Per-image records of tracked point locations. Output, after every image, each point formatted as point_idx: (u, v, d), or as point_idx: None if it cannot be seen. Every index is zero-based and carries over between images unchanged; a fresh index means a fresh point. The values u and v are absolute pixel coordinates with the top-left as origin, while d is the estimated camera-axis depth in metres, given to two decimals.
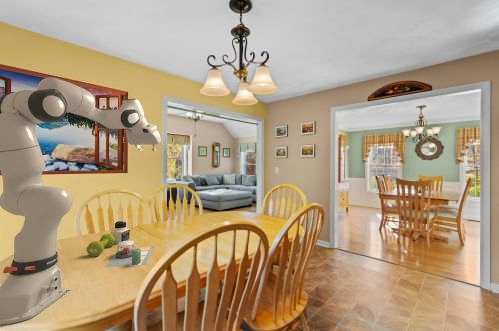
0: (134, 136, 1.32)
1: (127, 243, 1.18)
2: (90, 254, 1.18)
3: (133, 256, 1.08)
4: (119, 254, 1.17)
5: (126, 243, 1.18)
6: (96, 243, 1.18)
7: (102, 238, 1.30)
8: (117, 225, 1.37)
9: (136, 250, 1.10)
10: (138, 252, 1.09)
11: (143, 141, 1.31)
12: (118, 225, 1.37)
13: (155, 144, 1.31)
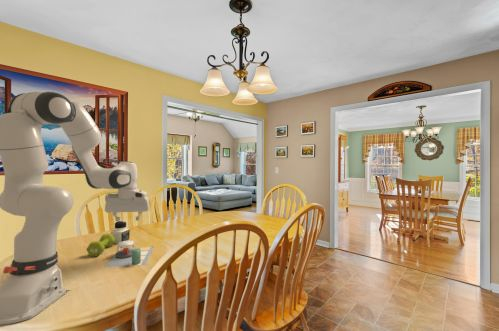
0: (117, 202, 1.17)
1: (127, 243, 1.18)
2: (91, 254, 1.18)
3: (133, 256, 1.08)
4: (119, 254, 1.17)
5: (126, 243, 1.18)
6: (97, 243, 1.18)
7: (102, 238, 1.30)
8: (117, 225, 1.37)
9: (136, 250, 1.10)
10: (138, 252, 1.09)
11: (129, 207, 1.18)
12: (118, 225, 1.37)
13: (143, 211, 1.20)
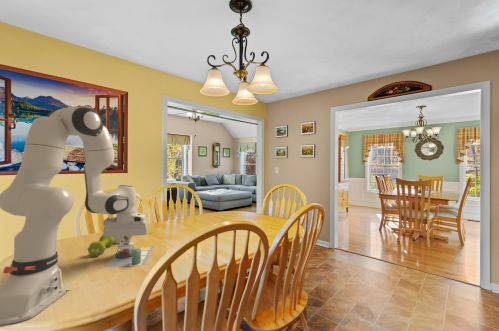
0: (116, 226, 1.17)
1: (127, 245, 1.18)
2: (92, 254, 1.18)
3: (133, 256, 1.08)
4: (119, 254, 1.17)
5: (126, 245, 1.18)
6: (98, 243, 1.19)
7: (101, 238, 1.30)
8: None
9: (136, 250, 1.10)
10: (138, 252, 1.09)
11: (128, 231, 1.18)
12: None
13: None
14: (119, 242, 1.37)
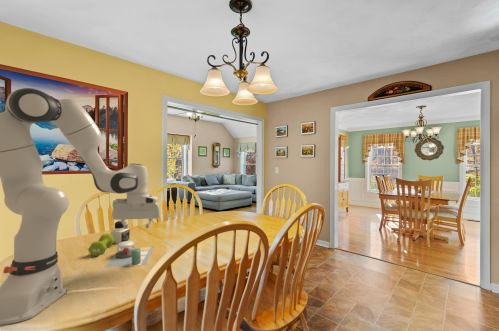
0: (126, 208, 1.07)
1: (127, 244, 1.18)
2: (93, 254, 1.18)
3: (133, 256, 1.08)
4: (119, 254, 1.17)
5: (126, 244, 1.18)
6: (99, 243, 1.19)
7: (101, 238, 1.30)
8: (117, 225, 1.37)
9: (136, 250, 1.09)
10: (137, 252, 1.09)
11: (139, 214, 1.08)
12: (118, 225, 1.37)
13: (154, 218, 1.10)
14: (119, 242, 1.37)
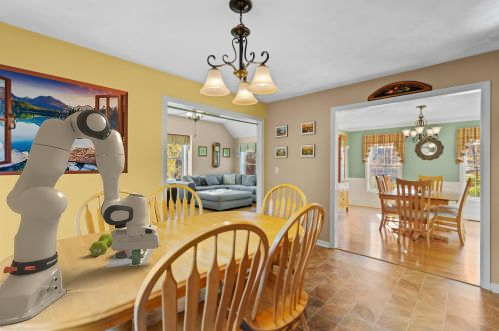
0: (125, 239, 1.07)
1: None
2: (94, 254, 1.18)
3: (133, 256, 1.08)
4: (119, 254, 1.17)
5: None
6: (100, 243, 1.19)
7: (101, 238, 1.30)
8: (117, 225, 1.37)
9: (136, 250, 1.10)
10: (137, 252, 1.09)
11: (138, 244, 1.08)
12: (118, 225, 1.37)
13: (153, 248, 1.10)
14: None
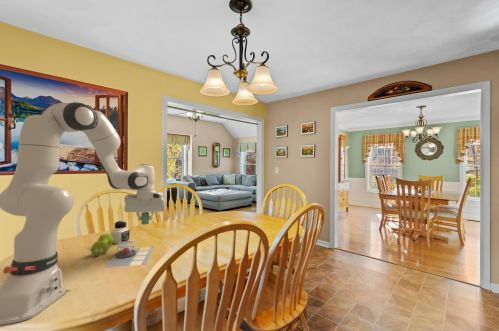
0: (136, 202, 1.25)
1: (127, 244, 1.18)
2: (95, 254, 1.18)
3: (142, 217, 1.26)
4: (119, 254, 1.17)
5: (126, 244, 1.18)
6: (101, 243, 1.19)
7: (101, 238, 1.29)
8: (117, 225, 1.37)
9: (145, 212, 1.27)
10: (146, 214, 1.26)
11: (147, 207, 1.26)
12: (118, 225, 1.37)
13: (160, 211, 1.27)
14: (119, 242, 1.37)
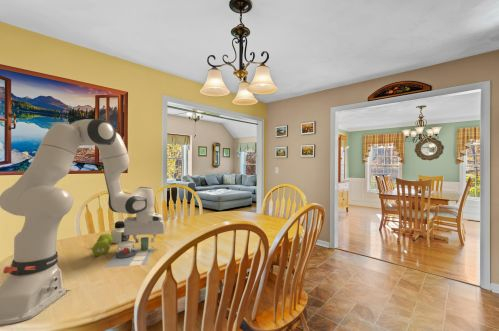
0: (136, 225, 1.25)
1: (127, 244, 1.18)
2: (97, 254, 1.18)
3: (142, 243, 1.26)
4: (119, 254, 1.17)
5: (126, 244, 1.18)
6: (103, 242, 1.19)
7: (100, 238, 1.29)
8: (117, 225, 1.37)
9: (144, 238, 1.27)
10: (146, 239, 1.26)
11: (146, 230, 1.26)
12: (118, 225, 1.37)
13: (160, 233, 1.28)
14: (119, 242, 1.37)
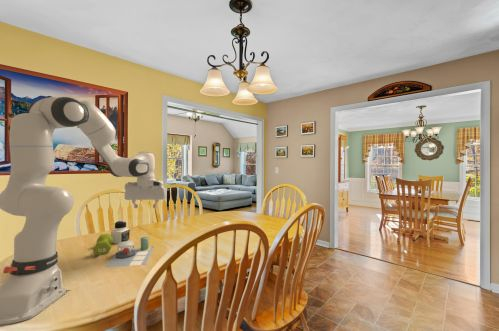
0: (136, 190, 1.25)
1: (127, 244, 1.18)
2: (98, 254, 1.18)
3: (142, 243, 1.26)
4: (119, 254, 1.17)
5: (126, 244, 1.18)
6: (104, 242, 1.20)
7: (100, 238, 1.29)
8: (117, 225, 1.37)
9: (144, 238, 1.27)
10: (146, 239, 1.26)
11: (147, 195, 1.26)
12: (118, 225, 1.37)
13: (160, 199, 1.27)
14: (119, 242, 1.37)
